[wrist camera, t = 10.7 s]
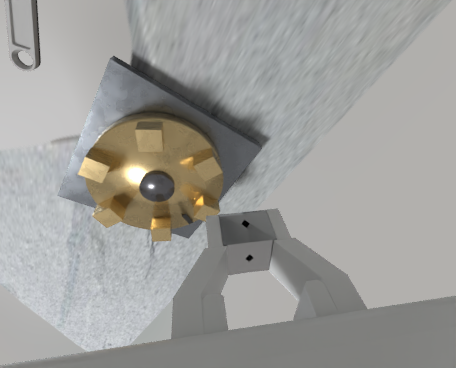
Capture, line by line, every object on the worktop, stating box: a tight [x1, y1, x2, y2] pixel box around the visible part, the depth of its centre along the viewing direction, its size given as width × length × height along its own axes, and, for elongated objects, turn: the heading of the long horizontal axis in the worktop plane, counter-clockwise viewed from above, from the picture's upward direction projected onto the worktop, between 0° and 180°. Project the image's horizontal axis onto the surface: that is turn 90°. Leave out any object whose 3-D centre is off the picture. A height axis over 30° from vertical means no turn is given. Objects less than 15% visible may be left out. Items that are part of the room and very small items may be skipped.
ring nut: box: [78, 113, 223, 242], centre depth 38 cm, size 20×20×6 cm
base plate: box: [58, 56, 262, 238], centre depth 41 cm, size 24×24×2 cm
